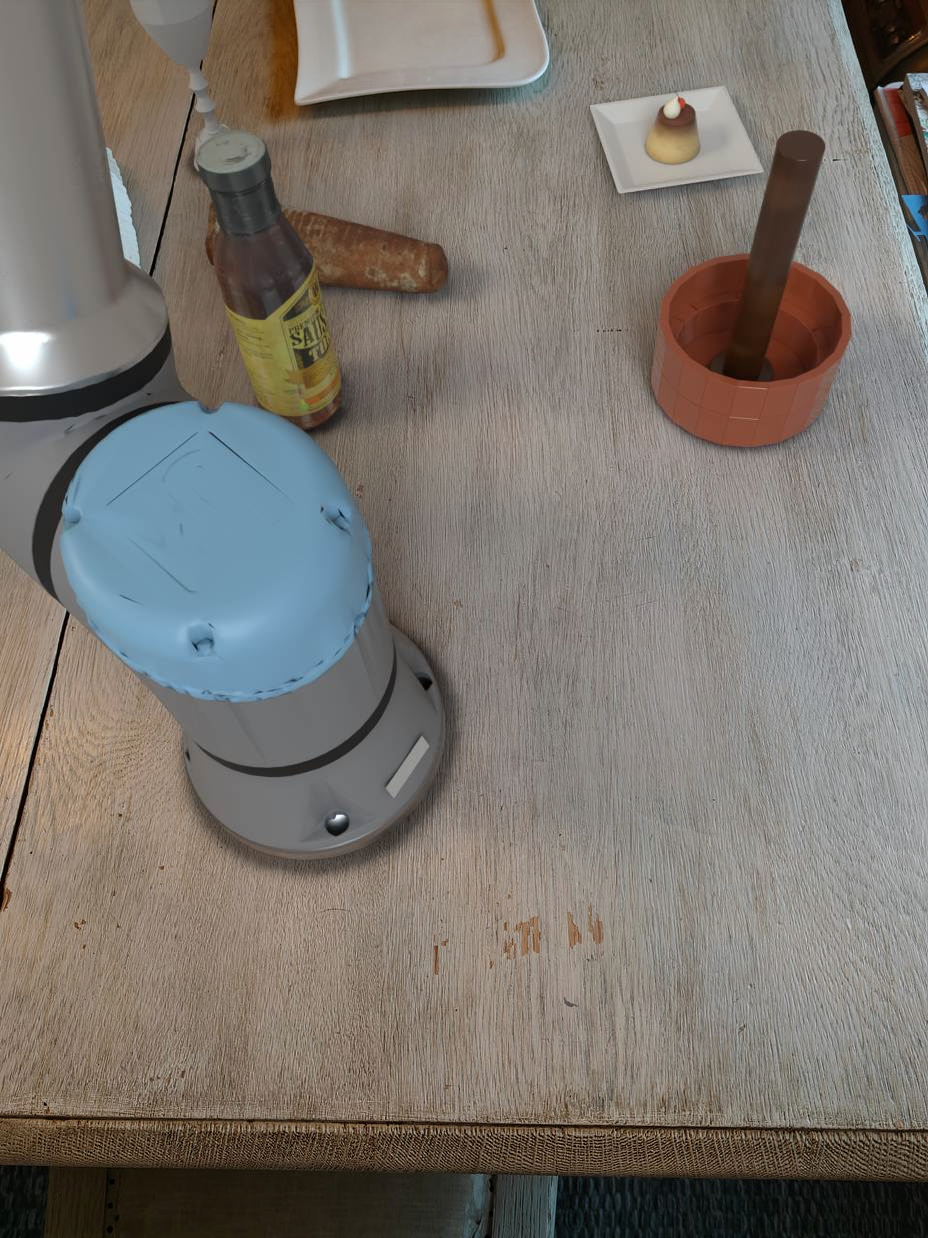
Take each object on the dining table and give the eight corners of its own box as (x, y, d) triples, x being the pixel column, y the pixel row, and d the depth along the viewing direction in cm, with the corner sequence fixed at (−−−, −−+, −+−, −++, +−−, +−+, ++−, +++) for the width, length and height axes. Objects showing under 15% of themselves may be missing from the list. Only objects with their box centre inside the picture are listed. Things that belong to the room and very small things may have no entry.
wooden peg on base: (698, 389, 67) (747, 158, 52) (720, 347, 69) (775, 111, 53) (759, 409, 66) (828, 178, 50) (780, 366, 68) (853, 130, 52)
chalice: (201, 194, 83) (123, -31, 67) (169, 155, 86) (87, -69, 70) (275, 160, 84) (216, -67, 68) (241, 123, 87) (177, -103, 71)
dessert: (722, 96, 84) (732, 42, 80) (761, 183, 78) (774, 129, 74) (588, 116, 84) (591, 62, 80) (617, 205, 78) (621, 151, 74)
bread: (239, 235, 80) (220, 175, 75) (458, 268, 76) (453, 208, 71) (209, 287, 77) (187, 229, 72) (435, 324, 73) (428, 265, 68)
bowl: (623, 419, 67) (631, 352, 62) (686, 306, 72) (699, 234, 67) (792, 477, 64) (817, 412, 58) (847, 354, 69) (874, 283, 63)
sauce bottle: (333, 439, 68) (264, 197, 51) (250, 429, 69) (155, 189, 52) (356, 371, 71) (298, 121, 54) (277, 363, 72) (195, 114, 55)
